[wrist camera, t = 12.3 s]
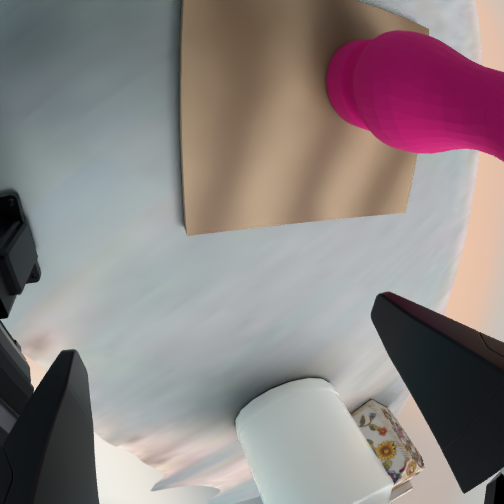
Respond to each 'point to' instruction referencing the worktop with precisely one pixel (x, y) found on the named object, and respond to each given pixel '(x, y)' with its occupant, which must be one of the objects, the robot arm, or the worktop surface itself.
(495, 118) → the pepper mill
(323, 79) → the tan cloth
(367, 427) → the decorative jar
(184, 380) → the worktop surface
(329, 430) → the bottle
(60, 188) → the worktop surface
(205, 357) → the worktop surface
